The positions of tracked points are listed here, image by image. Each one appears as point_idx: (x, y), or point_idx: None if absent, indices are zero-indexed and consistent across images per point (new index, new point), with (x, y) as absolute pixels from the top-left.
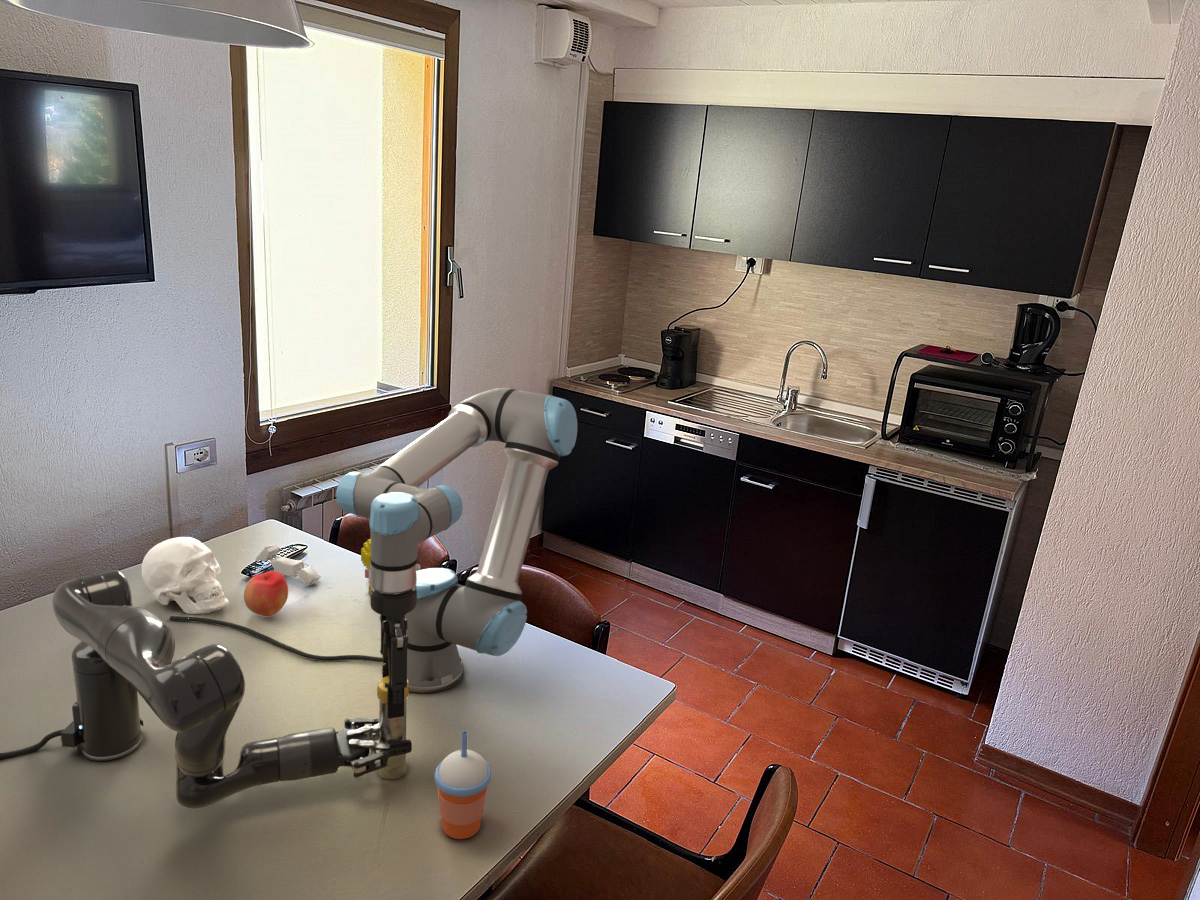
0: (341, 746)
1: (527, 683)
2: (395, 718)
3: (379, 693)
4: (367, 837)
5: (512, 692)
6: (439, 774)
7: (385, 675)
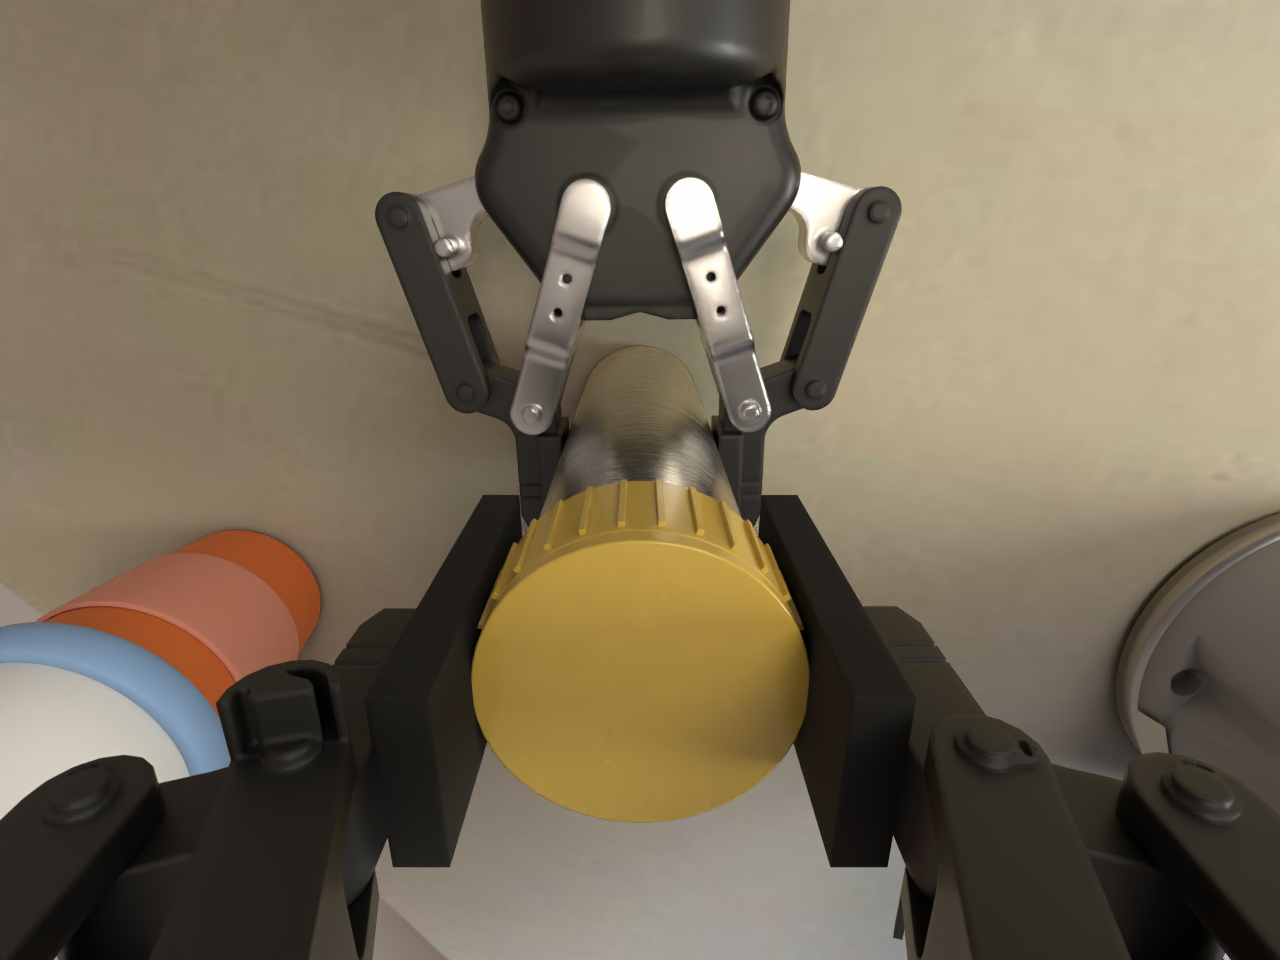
0: (598, 131)
1: None
2: None
3: (581, 516)
4: (233, 234)
5: None
6: (4, 671)
7: (815, 646)
